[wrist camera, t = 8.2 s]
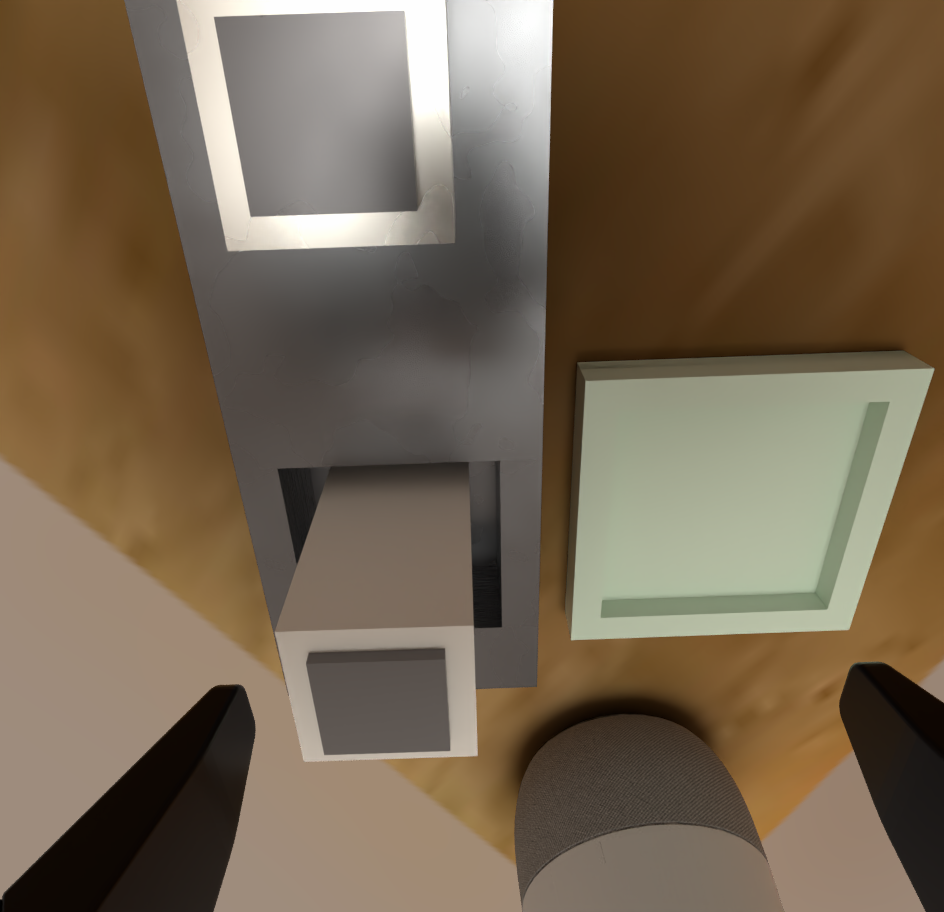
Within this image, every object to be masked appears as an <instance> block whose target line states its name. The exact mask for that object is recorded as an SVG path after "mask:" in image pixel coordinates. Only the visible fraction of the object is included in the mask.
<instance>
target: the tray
mask: <svg viewBox="0 0 944 912" xmlns="http://www.w3.org/2000/svg"><path fill="white" fill-rule="evenodd" d="M934 369H935V368H933V367H931V366H930V365H928V364H926V363H924V362H923V361H921V360H919V359H917V358H916V357H914V356H912V355H911V354H909V353H907V352H905V351H904V350H903V351H876V352H848V353H820V354H792V355H765V356H737V357H709V358H681V359H653V360H626V361H598V362H577V377H576V397H575V418H574V438H573V459H572V479H571V499H570V520H569V540H568V560H567V581H566V601H565V614H566V619H567V623H568V628H569V633H570V638H571V640H586V639H614V638H641V637H668V636H695V635H722V634H749V633H776V632H803V631H830V630H849V628H850V625H851V622H852V619H853V616H854V613H855V610H856V607H857V604H858V601H859V598H860V595H861V591H862V588H863V585H864V582H865V579H866V576H867V573H868V570H869V567H870V564H871V561H872V558H873V555H874V552H875V549H876V546H877V543H878V540H879V537H880V534H881V531H882V527H883V524H884V521H885V518H886V515H887V512H888V509H889V506H890V503H891V500H892V497H893V494H894V491H895V488H896V485H897V482H898V479H899V476H900V473H901V470H902V467H903V463H904V460H905V457H906V454H907V451H908V448H909V445H910V442H911V439H912V436H913V433H914V430H915V427H916V424H917V421H918V418H919V415H920V412H921V409H922V406H923V402H924V399H925V396H926V393H927V390H928V387H929V384H930V381H931V378H932V375H933V372H934Z"/></svg>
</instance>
